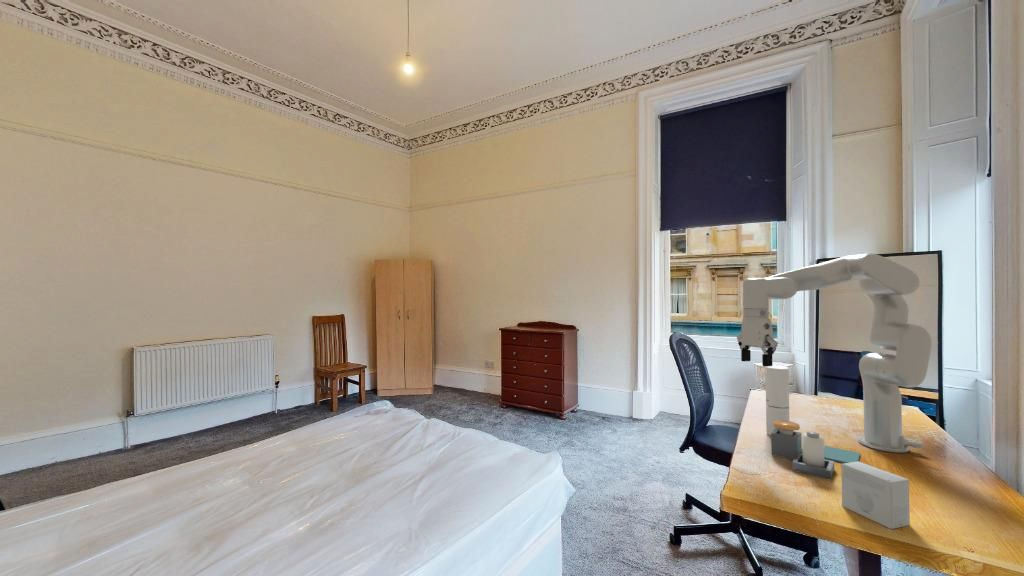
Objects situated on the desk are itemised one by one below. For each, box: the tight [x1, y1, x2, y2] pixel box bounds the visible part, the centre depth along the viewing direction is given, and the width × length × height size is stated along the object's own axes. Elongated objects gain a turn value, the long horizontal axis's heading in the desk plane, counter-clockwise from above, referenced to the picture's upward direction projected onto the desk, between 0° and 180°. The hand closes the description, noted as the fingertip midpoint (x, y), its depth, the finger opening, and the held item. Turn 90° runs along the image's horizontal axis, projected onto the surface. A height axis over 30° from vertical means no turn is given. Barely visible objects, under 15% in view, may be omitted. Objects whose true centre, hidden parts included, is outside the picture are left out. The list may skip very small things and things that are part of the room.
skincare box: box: [840, 460, 911, 530], centre depth 93 cm, size 10×6×10 cm, turn 17°
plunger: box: [773, 420, 801, 436], centre depth 128 cm, size 7×7×5 cm
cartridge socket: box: [791, 453, 835, 481], centre depth 116 cm, size 9×9×2 cm
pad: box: [824, 444, 861, 464], centre depth 128 cm, size 14×12×1 cm
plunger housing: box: [770, 428, 803, 461], centre depth 128 cm, size 7×7×7 cm
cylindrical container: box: [764, 364, 790, 436], centre depth 145 cm, size 7×7×25 cm
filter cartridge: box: [802, 430, 825, 468], centre depth 116 cm, size 5×5×11 cm
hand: (756, 363), depth 135 cm, fingers open, 9 cm apart
